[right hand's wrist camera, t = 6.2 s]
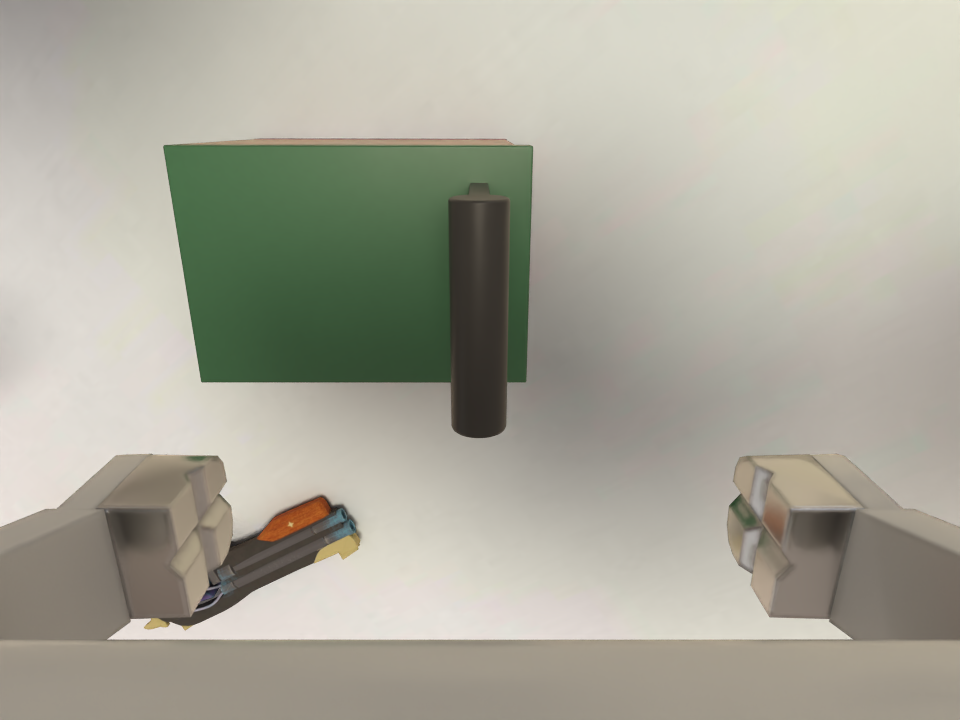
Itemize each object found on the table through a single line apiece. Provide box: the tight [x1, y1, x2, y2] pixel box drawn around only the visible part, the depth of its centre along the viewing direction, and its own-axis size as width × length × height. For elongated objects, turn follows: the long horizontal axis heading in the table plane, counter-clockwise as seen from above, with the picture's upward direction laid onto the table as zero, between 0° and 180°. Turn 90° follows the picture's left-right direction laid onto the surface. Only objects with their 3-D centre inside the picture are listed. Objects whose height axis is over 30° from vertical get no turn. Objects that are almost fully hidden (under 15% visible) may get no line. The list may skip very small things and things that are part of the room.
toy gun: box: [144, 497, 360, 630], centre depth 42 cm, size 3×19×10 cm
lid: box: [163, 144, 533, 438], centre depth 23 cm, size 14×10×9 cm
